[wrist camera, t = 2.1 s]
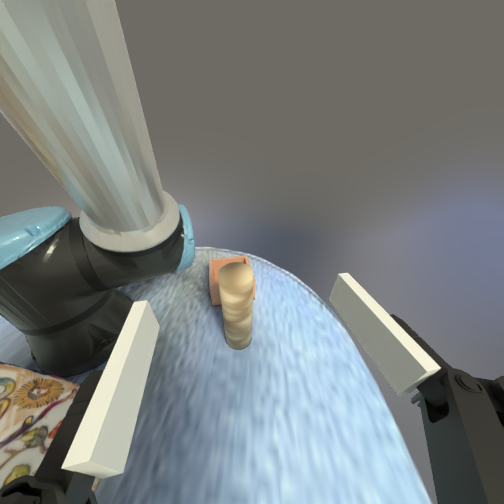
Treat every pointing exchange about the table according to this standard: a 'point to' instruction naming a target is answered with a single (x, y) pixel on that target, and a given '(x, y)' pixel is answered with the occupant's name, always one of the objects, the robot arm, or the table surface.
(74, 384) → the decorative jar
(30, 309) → the robot arm
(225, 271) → the peg
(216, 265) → the box
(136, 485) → the table surface
